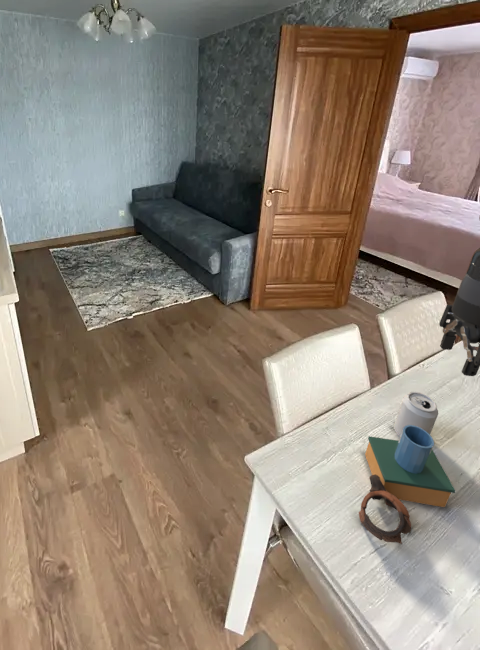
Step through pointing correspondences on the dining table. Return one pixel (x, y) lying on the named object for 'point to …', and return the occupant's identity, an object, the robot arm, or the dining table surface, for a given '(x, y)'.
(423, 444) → the cup
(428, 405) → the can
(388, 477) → the container
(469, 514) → the dining table surface
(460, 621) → the dining table surface
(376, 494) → the brown jagged ring
